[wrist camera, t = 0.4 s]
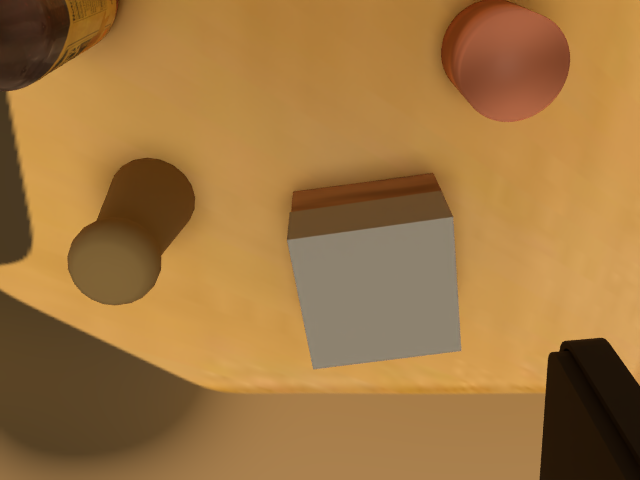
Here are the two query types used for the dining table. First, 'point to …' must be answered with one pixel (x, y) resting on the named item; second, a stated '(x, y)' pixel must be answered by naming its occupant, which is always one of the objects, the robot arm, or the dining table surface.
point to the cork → (131, 232)
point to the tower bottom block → (363, 192)
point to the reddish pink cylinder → (505, 59)
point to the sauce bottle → (47, 35)
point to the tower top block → (376, 279)
